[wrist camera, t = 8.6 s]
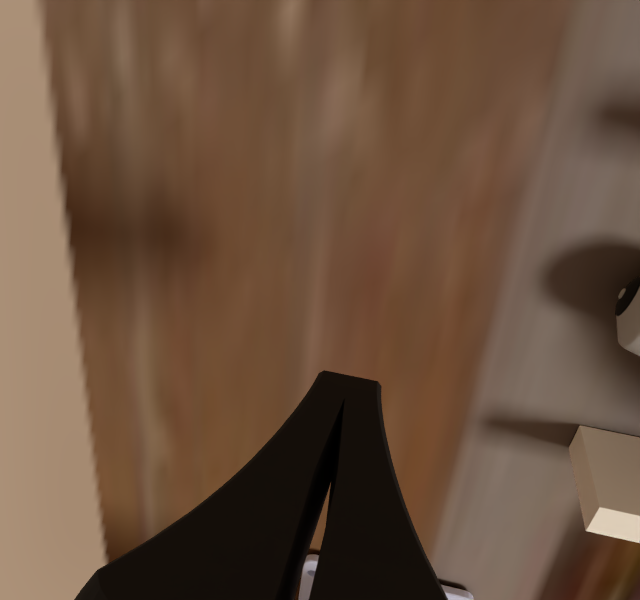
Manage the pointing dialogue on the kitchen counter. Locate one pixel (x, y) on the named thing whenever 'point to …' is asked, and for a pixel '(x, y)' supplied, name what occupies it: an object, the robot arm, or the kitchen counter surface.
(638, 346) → the light bulb
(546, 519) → the kitchen counter surface
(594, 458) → the socket cradle
